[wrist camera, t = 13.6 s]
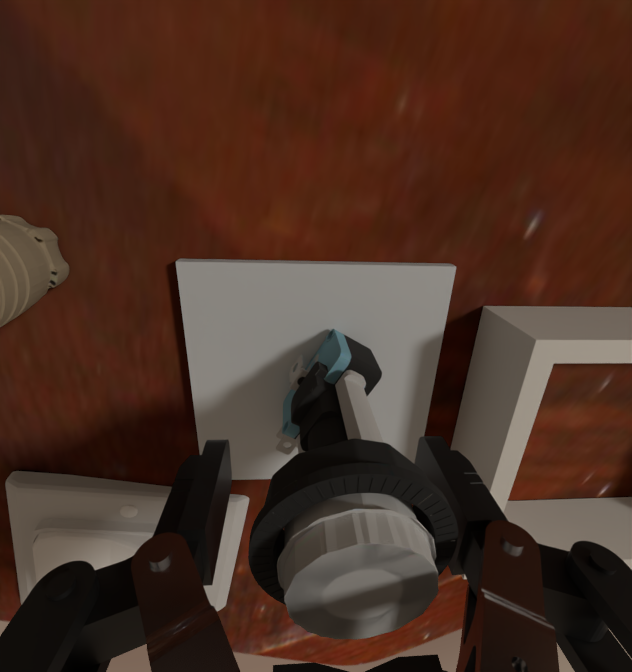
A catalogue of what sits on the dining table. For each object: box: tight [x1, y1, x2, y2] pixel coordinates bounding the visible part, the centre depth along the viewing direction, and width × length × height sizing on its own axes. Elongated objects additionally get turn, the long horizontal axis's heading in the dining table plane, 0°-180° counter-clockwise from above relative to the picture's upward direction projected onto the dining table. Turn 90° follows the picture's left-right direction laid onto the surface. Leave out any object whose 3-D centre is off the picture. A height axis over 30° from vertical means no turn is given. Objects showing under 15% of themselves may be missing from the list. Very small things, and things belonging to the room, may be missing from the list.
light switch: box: [5, 471, 249, 611], centre depth 21 cm, size 11×4×13 cm
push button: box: [248, 329, 458, 639], centre depth 13 cm, size 7×5×10 cm
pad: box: [176, 259, 456, 480], centre depth 18 cm, size 12×12×1 cm
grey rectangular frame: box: [450, 306, 632, 579], centre depth 19 cm, size 16×14×4 cm
